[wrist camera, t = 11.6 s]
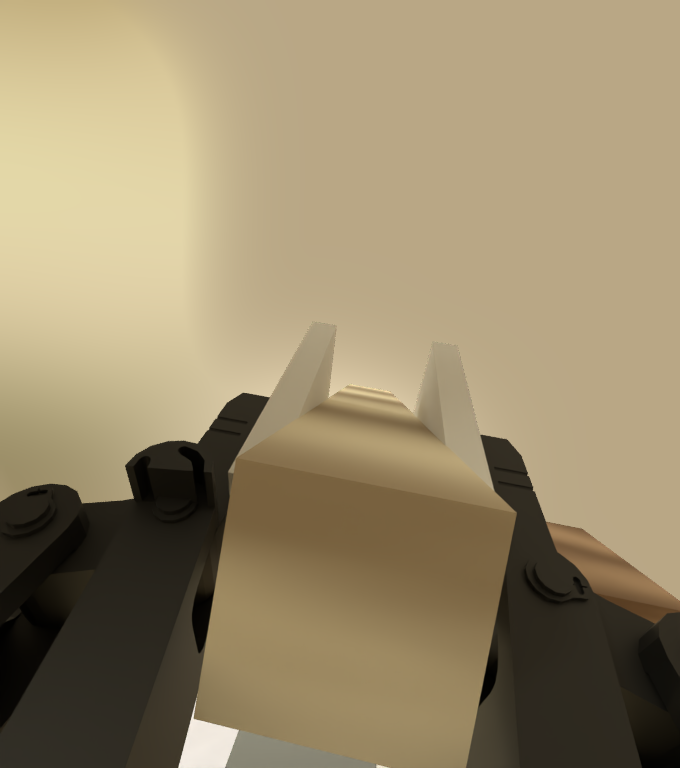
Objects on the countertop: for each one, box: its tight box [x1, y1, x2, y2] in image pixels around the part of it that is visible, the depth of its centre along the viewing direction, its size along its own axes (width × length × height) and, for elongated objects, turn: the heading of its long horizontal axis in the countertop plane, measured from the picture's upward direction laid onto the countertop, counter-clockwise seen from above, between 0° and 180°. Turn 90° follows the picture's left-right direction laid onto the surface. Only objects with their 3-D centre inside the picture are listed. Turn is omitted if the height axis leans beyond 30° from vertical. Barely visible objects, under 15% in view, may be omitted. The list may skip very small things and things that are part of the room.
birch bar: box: [194, 384, 517, 768], centre depth 16 cm, size 24×3×3 cm, turn 176°
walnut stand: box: [546, 522, 680, 624], centre depth 29 cm, size 12×14×32 cm
